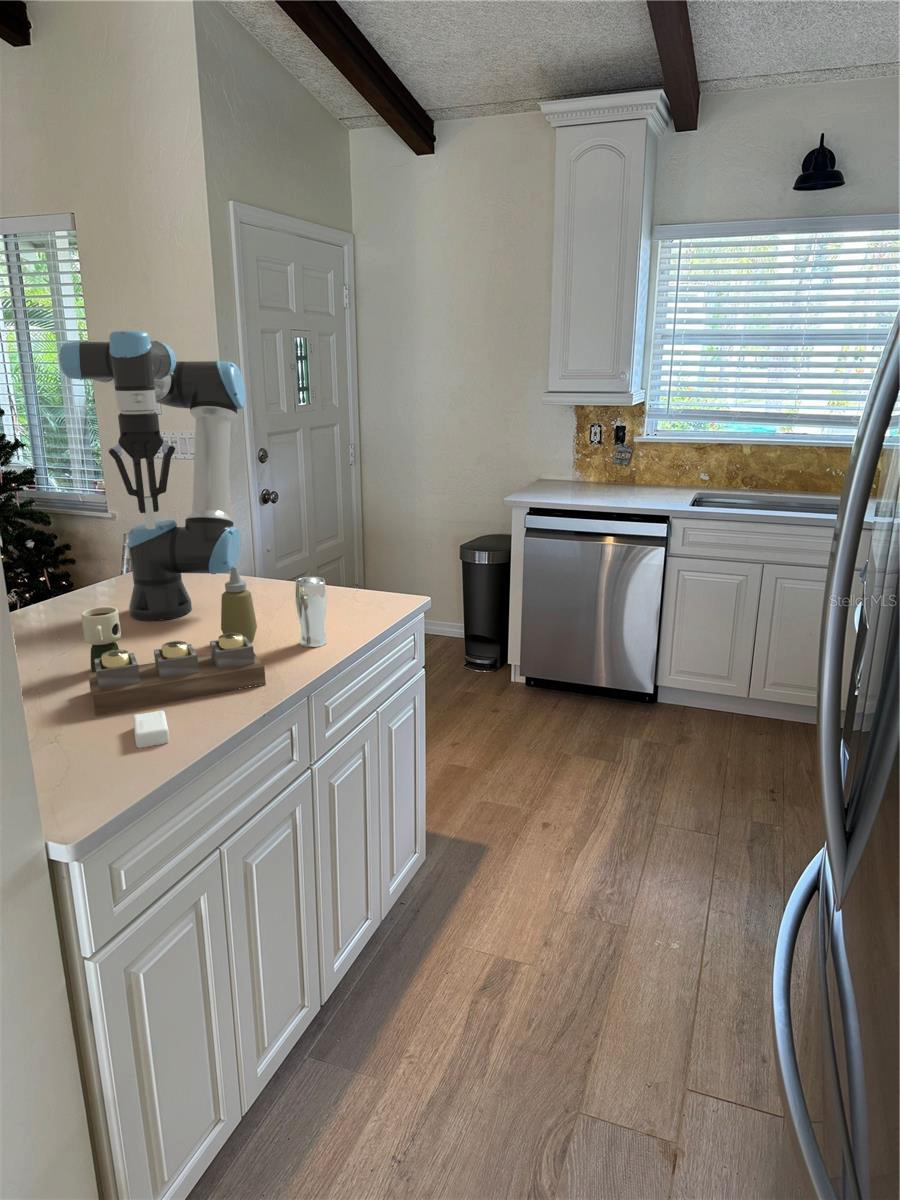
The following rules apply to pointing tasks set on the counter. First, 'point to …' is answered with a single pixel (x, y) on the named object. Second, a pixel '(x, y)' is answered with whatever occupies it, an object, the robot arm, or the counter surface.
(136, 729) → the soap
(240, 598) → the squeeze bottle
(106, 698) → the mount
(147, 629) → the counter surface
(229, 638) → the knob
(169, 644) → the knob middle
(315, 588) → the beer glass
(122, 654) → the knob
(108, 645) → the character mug
